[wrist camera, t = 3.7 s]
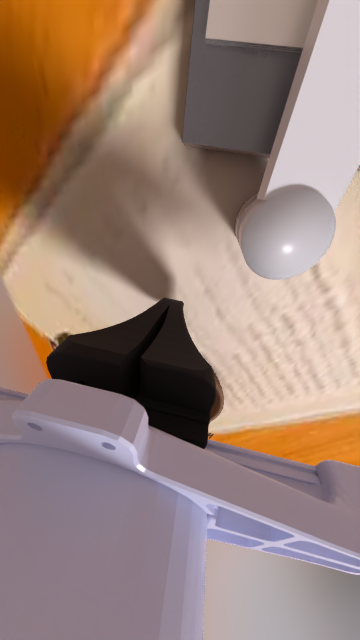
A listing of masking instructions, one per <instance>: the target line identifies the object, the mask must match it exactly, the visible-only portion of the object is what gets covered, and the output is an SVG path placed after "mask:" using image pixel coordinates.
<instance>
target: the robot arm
mask: <svg viewBox="0 0 360 640" xmlns="http://www.w3.org/2000/svg"><path fill="white" fill-rule="evenodd" d="M183 305H184V303H183V302H182V301H177V300H172V299H168V298H163V299H162V300H160V301H159V302H158V303H156V304H155V305H153V306H152V307H150V308H149V309H147V310H146V311H144V312H143V313H141V314H139V315H138V316H136V317H134V318H132V319H129V320H127V321H125V322H122V323H120V324H117V325H114V326H111V327H108V328H104V329H101V330H96V331H92V332H87V333H81V334H75V335H70V336H69V337H67V338H66V339H65V340H64V341H63V342H62V343H61V344H60V345H59V346H58V347H57V348H56V349H55V350H54V351H53V352H52V353H51V354H50V355H49V356H48V357H47V361H46V363H47V367H48V370H49V373H50V375H51V377H52V379H46V380H44V381H43V382H41V383H39V384H38V386H37V387H36V388H35V389H34V390H33V391H32V392H31V393H30V394H25V393H21V392H17V391H14V390H9V389H6V388H1V387H0V640H203V618H204V594H205V568H206V567H205V566H206V541H207V539H210V540H214V541H219V542H224V543H227V544H232V545H236V546H241V547H245V548H249V549H254V550H258V551H263V552H267V553H272V554H276V555H280V556H285V557H289V558H293V559H298V560H302V561H306V562H310V563H313V564H317V565H321V566H325V567H329V568H333V569H336V570H340V571H343V572H347V573H351V574H354V575H360V467H359V466H355V465H351V464H347V463H343V462H339V461H335V460H324V461H321V462H320V463H319V464H318V465H317V466H312V465H308V464H304V463H300V462H296V461H292V460H288V459H284V458H280V457H276V456H272V455H268V454H264V453H260V452H256V451H252V450H248V449H244V448H240V447H236V446H232V445H228V444H224V443H220V442H216V441H212V440H208V424H209V423H210V412H211V410H212V407H213V405H214V403H215V401H216V396H217V390H216V382H215V377H214V373H213V369H212V367H211V366H210V365H209V364H208V363H207V362H206V360H205V359H204V358H203V357H202V355H201V354H200V353H199V351H198V349H197V348H196V346H195V345H194V343H193V341H192V339H191V337H190V335H189V332H188V329H187V326H186V323H185V319H184V314H183Z"/></svg>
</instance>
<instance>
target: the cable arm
mask: <svg viewBox="0 0 360 640" xmlns="http://www.w3.org/2000/svg"><path fill="white" fill-rule="evenodd" d="M359 165H360V0H318V2H317V5H316V9H315V12H314V15H313V18H312V22H311V25H310V28H309V31H308V34H307V38H306V41H305V44H304V47H303V51H302V54H301V57H300V60H299V63H298V67H297V70H296V73H295V76H294V80H293V83H292V86H291V89H290V93H289V96H288V99H287V102H286V105H285V109H284V112H283V115H282V118H281V122H280V125H279V128H278V131H277V134H276V138H275V141H274V144H273V147H272V151H271V154H270V157H269V160H268V164H267V167H266V170H265V173H264V176H263V180H262V183H261V186H260V189H259V193H258V196H257V199H258V200H257V201H256V202H255V203H254V204H253V205H252V206H251V207H250V208H249V209H248V210H247V212H246V213H245V215H244V217H243V219H242V221H241V224H240V228H239V234H238V236H239V244H240V248H241V250H242V253H243V256H244V259H245V261H246V263H247V265H248V266H249V268H250V269H251V270H252V271H253V272H255V273H256V274H257V275H259V276H261V277H264V278H267V279H273V280H280V279H287V278H291V277H294V276H297V275H299V274H301V273H303V272H305V271H307V270H308V269H310V268H311V267H312V266H313V265H315V264H316V263H317V262H318V261H319V260H320V259H321V258H322V257H323V255H324V254H325V253H326V251H327V250H328V248H329V246H330V244H331V242H332V240H333V237H334V233H335V227H336V219H335V214H334V211H335V210H336V208H337V206H338V204H339V203H340V201H341V199H342V197H343V195H344V193H345V191H346V190H347V188H348V186H349V184H350V182H351V180H352V178H353V176H354V175H355V173H356V171H357V169H358V167H359Z"/></svg>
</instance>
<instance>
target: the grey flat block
mask: <svg viewBox="0 0 360 640" xmlns="http://www.w3.org/2000/svg"><path fill="white" fill-rule="evenodd" d="M317 2H318V0H195V11H194V21H193V31H192V42H191V52H190V62H189V73H188V83H187V93H186V104H185V114H184V124H183V135H182V143H183V144H184V145H185V146H190V147H197V148H204V149H211V150H218V151H225V152H232V153H239V154H246V155H253V156H260V157H267V158H269V157H270V154H271V151H272V147H273V144H274V141H275V138H276V134H277V131H278V128H279V125H280V122H281V118H282V115H283V112H284V109H285V105H286V102H287V99H288V96H289V93H290V89H291V86H292V83H293V80H294V76H295V73H296V70H297V67H298V63H299V60H300V57H301V54H302V51H303V47H304V44H305V41H306V38H307V34H308V31H309V28H310V25H311V22H312V18H313V15H314V12H315V9H316V5H317ZM357 170H358V171H360V165H359V167H358V169H357ZM257 196H258V193H257V194H255V195H254V196H252V197H251V198H249V199H248V200H247V201H246V202H245V203H244V204H243V206H242V207H241V209H240V210H239V213H238V215H237V218H236V222H235V233H236V236H237V239H238V242H239V236H238V234H239V228H240V224H241V221H242V219H243V217H244V215H245V213H246V212H247V210H248V209H249V208H250V207H251V206H252V205H253V204H254V203H255V202H256V201H257V200H258V199H257ZM239 245H240V244H239Z"/></svg>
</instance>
